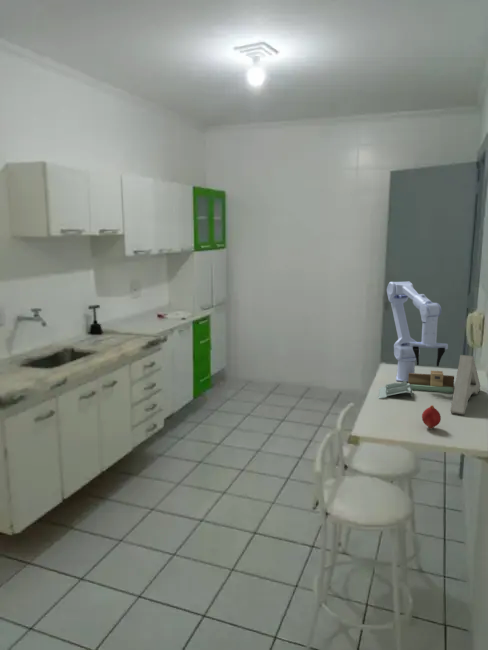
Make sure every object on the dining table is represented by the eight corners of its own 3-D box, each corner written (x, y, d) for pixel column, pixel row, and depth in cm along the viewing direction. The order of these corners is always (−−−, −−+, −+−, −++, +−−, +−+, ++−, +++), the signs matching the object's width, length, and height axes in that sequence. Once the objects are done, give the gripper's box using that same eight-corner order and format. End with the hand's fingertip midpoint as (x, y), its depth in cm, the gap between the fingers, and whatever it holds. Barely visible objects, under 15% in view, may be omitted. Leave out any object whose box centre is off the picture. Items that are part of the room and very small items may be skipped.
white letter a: (472, 437, 202) (463, 413, 179) (460, 435, 204) (450, 411, 181) (480, 385, 209) (473, 356, 186) (468, 384, 212) (460, 354, 189)
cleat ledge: (410, 385, 217) (410, 380, 217) (450, 388, 213) (451, 383, 212) (411, 389, 211) (411, 385, 210) (452, 392, 206) (452, 388, 206)
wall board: (408, 384, 219) (408, 372, 218) (453, 387, 214) (453, 375, 213) (408, 385, 218) (408, 373, 217) (453, 388, 212) (454, 376, 212)
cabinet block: (430, 385, 215) (430, 370, 214) (441, 386, 213) (442, 371, 212) (430, 389, 209) (431, 374, 208) (442, 390, 208) (443, 374, 207)
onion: (418, 425, 170) (419, 402, 169) (435, 424, 171) (436, 402, 169) (425, 431, 165) (427, 408, 163) (443, 431, 165) (444, 407, 164)
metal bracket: (410, 377, 209) (412, 387, 195) (413, 390, 210) (415, 401, 196) (375, 384, 214) (374, 394, 199) (378, 397, 214) (378, 408, 200)
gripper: (410, 333, 205) (409, 366, 207) (449, 335, 201) (447, 368, 203) (410, 330, 212) (408, 362, 214) (447, 332, 208) (445, 364, 210)
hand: (427, 365), depth 209 cm, fingers open, 7 cm apart
